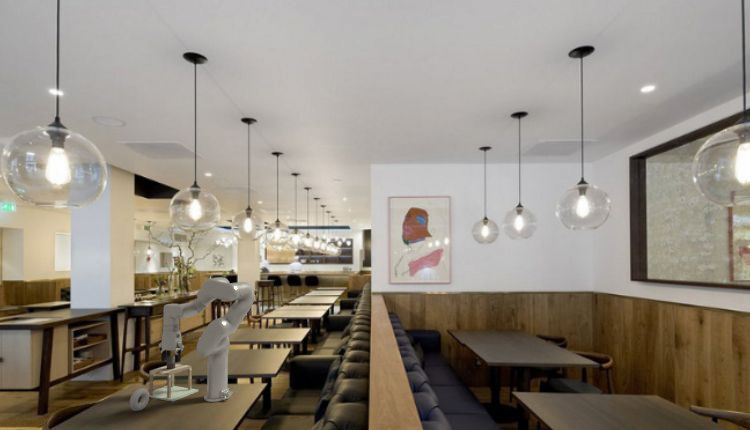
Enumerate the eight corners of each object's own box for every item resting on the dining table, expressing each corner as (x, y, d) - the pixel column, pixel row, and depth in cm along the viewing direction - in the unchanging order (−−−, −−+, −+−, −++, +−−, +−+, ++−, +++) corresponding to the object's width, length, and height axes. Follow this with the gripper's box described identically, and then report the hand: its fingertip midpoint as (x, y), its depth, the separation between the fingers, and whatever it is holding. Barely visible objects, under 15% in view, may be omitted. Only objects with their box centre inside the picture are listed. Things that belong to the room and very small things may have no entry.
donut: (133, 415, 192) (133, 392, 192) (127, 414, 193) (127, 391, 193) (151, 406, 201) (151, 385, 202) (145, 406, 202) (145, 384, 203)
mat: (198, 391, 222) (198, 389, 222) (172, 401, 208) (172, 399, 208) (168, 386, 231) (168, 385, 231) (141, 396, 217) (141, 394, 217)
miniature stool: (191, 389, 223) (191, 354, 224) (168, 398, 210) (169, 361, 212) (172, 386, 229) (172, 352, 230) (149, 394, 216) (149, 358, 217)
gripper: (189, 327, 222) (189, 361, 220) (165, 325, 229) (165, 358, 228) (177, 330, 215) (176, 364, 214) (153, 328, 222) (152, 361, 221)
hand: (170, 361), depth 221 cm, fingers open, 9 cm apart
